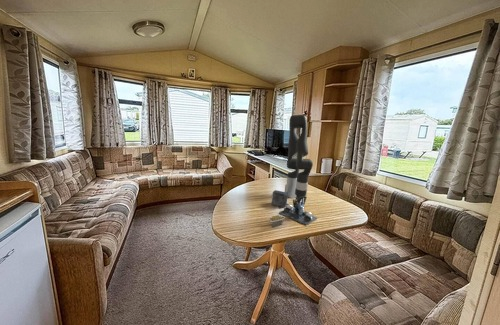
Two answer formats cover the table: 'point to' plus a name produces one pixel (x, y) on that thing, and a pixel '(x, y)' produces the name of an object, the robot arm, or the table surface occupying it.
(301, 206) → the block with round knob
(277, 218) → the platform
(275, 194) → the small box
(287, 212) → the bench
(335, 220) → the table surface
